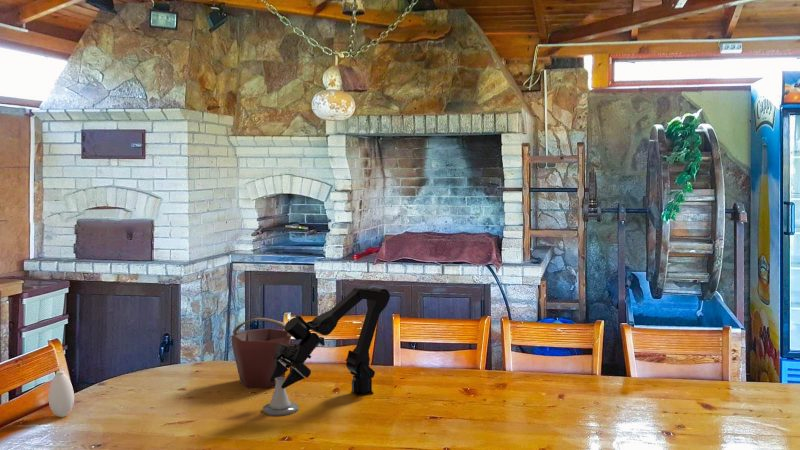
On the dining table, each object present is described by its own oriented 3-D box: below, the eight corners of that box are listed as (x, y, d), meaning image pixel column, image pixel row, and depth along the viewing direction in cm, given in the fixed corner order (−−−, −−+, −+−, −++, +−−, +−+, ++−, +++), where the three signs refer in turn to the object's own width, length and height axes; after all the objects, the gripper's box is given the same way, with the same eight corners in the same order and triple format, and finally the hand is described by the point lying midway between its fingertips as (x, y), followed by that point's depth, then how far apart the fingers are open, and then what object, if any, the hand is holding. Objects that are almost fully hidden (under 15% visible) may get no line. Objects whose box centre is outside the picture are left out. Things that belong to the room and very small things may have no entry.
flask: (279, 411, 252) (279, 382, 251) (265, 407, 257) (264, 378, 256) (295, 406, 258) (294, 377, 257) (280, 402, 262) (280, 374, 261)
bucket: (306, 380, 292) (304, 316, 290) (267, 395, 273) (265, 327, 271) (259, 371, 305) (257, 310, 303) (218, 385, 286) (217, 320, 284)
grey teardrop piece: (50, 421, 248) (47, 368, 246) (48, 414, 254) (46, 362, 253) (75, 417, 251) (73, 364, 250) (74, 410, 258) (71, 359, 256)
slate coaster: (293, 402, 265) (293, 399, 265) (302, 412, 254) (302, 410, 254) (259, 406, 261) (259, 404, 260) (266, 417, 249) (266, 414, 249)
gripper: (278, 329, 265) (249, 364, 260) (301, 339, 250) (271, 377, 244) (298, 347, 270) (270, 383, 265) (323, 358, 255) (294, 396, 249)
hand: (276, 384), depth 256 cm, fingers open, 9 cm apart
